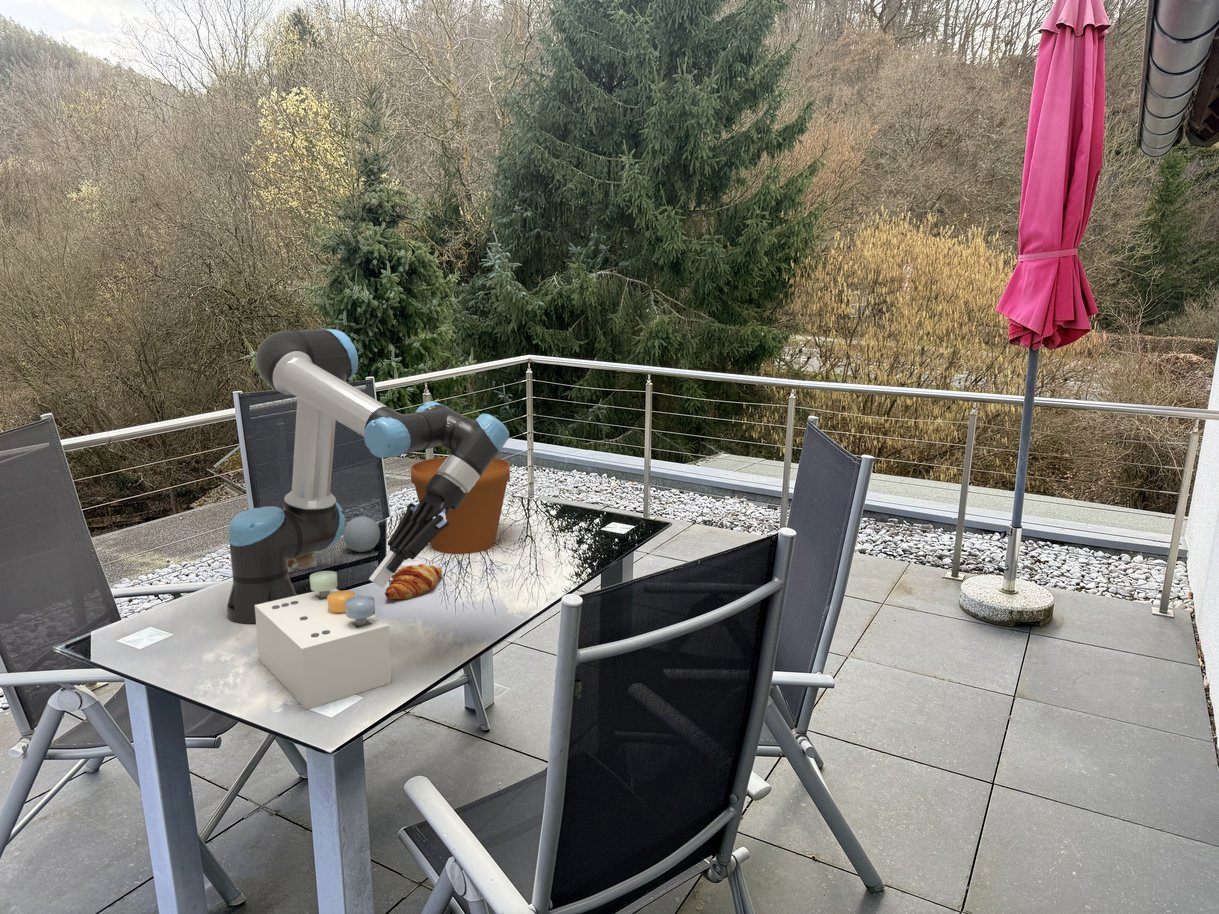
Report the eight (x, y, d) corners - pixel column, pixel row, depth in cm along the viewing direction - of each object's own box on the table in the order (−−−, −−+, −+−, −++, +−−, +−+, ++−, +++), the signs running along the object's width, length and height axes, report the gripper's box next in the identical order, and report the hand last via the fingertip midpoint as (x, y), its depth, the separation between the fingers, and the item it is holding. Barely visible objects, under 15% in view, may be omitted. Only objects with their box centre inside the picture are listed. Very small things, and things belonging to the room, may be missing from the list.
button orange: (350, 614, 163) (348, 588, 162) (361, 622, 159) (359, 595, 158) (324, 621, 160) (323, 594, 159) (335, 629, 156) (333, 602, 155)
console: (337, 638, 173) (333, 586, 171) (391, 682, 154) (388, 624, 151) (259, 659, 163) (254, 604, 161) (306, 709, 143) (301, 647, 141)
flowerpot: (495, 562, 223) (493, 478, 218) (398, 556, 227) (394, 474, 222) (522, 532, 250) (520, 457, 245) (434, 528, 254) (432, 454, 249)
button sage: (332, 594, 169) (330, 569, 168) (342, 601, 165) (340, 575, 164) (307, 600, 166) (305, 574, 165) (317, 607, 162) (315, 581, 161)
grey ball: (387, 547, 235) (386, 513, 233) (369, 558, 225) (367, 523, 223) (356, 544, 237) (354, 511, 235) (337, 554, 228) (335, 520, 226)
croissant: (431, 587, 213) (419, 560, 213) (460, 575, 209) (447, 547, 209) (379, 614, 194) (365, 584, 194) (409, 601, 189) (395, 570, 190)
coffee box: (286, 574, 212) (281, 515, 208) (273, 569, 216) (268, 510, 212) (318, 566, 219) (314, 508, 215) (305, 561, 223) (301, 504, 219)
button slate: (369, 620, 156) (367, 593, 155) (380, 629, 152) (379, 601, 151) (342, 627, 153) (340, 600, 151) (353, 636, 149) (352, 608, 148)
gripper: (481, 501, 157) (405, 603, 149) (447, 488, 166) (374, 584, 159) (455, 478, 152) (376, 582, 145) (422, 466, 162) (346, 564, 155)
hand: (375, 583), depth 152 cm, fingers closed
